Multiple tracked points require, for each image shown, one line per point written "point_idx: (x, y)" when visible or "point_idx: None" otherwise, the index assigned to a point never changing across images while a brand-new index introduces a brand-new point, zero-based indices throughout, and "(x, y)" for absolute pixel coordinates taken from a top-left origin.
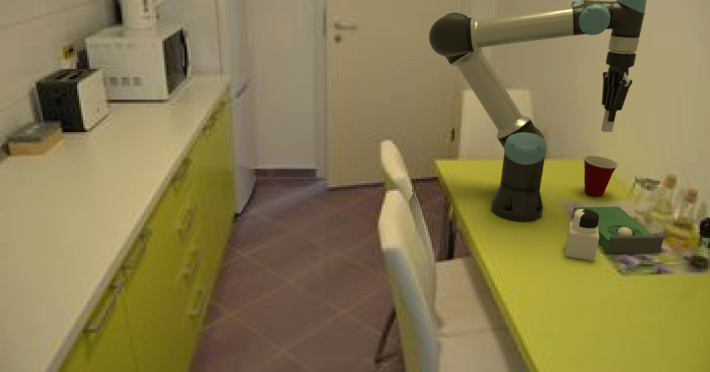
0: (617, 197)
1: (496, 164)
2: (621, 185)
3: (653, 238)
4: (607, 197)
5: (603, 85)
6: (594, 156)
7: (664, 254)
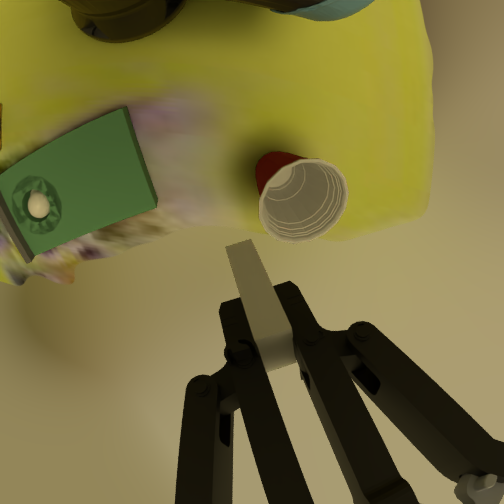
0: None
1: (410, 18)
2: None
3: (18, 248)
4: None
5: (461, 420)
6: (344, 195)
7: None
